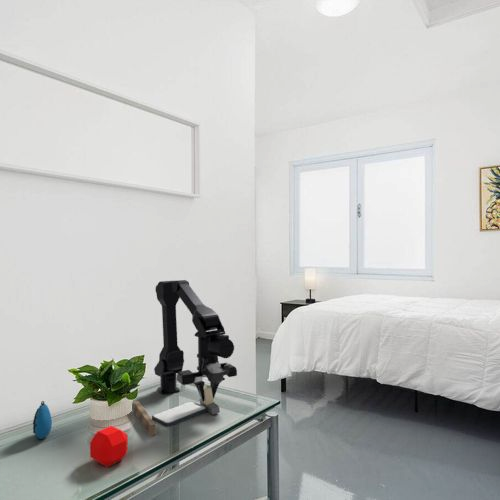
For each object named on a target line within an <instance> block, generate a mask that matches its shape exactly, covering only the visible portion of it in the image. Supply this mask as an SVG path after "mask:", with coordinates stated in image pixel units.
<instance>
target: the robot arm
mask: <svg viewBox="0 0 500 500" xmlns="http://www.w3.org/2000/svg"><path fill="white" fill-rule="evenodd" d="M155 293H156V299H157V301H158V303H160V305H161V316H162V317H161V318H162V336H163V337H162V338H163V339H162V343H163V347H162V348H161V351H160V353H159V354H158V355H159V356H158V357H159V358H158V359H159V360H158V362H157V364H156V365H155V366H154V369H153V370H154V375H156V376H157V377H160V379H159V380H160V386H159V387H157V391H158V392H160V393H161V395H167V394H172V393H177V392H180V391H181V390H180V389H179V388H178V387H177V382H179V383H180V384H181V385H185V386H187V385H192V384H193V385H195V387H196V390H197V392H198V394H199V397H200V399H201V400H202V401H204V387H205V384H206V383H205V381H203V378H206V379H207V381H208V382H209V386H210V387H211V389H212V395H213V400H214V399H215V396H216V393H217V390H218V388H219V385H220V384H221V383H222V382H223V381H225V380H226V378H225V377H224V376H227V377H228V378H232V377H237V376H238V369H237V367H235V366H234V365H232V364H231V363H228V362H221V363H220V361H219V358H222V359H229V358H231V357H232V355H233V353H234V350H235V345H234V342H233V341H232V340H231V339H230V335H229V334H228V335H227V334H226V331H225V326H224V325H223V323H222V321H221V319H220V316H219V314H218V313H217V312H216V311H215V310H214V309H213V308H210V307H209V306H206V305H205V304H204V303H203V302H202V300H201V299H200V297H199V296H198V295H197V294H196V292H195V291H194V290H193V288H192V287H191V286H190V283H189V281H188V280H185V279H183V280H181V279H180V280H163V281H159V282H157V284H156V285H155ZM179 300H181V302H182V303H183V304H184V305H185V307H186V308H187V310H188V311H189V313H190V314H191V316H192V317H191V318H192V319H191V322H192V324H193V325H194V327H195V329H196V330H197V331H196V332H195V333H194V336H195V337H196V338H197V353H196V357H197V359H198V361H197V362H198V365H197V366H196V370H197V371H195V372H193V371H191V370H190V369H186V370H183V368H184V364H185V358H184V354H185V352H184V351H183V350H181V348H180V347H179V346H178V325H177V304H178V302H179Z"/></svg>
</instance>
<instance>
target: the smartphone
mask: <svg viewBox="0 0 500 500" xmlns="http://www.w3.org/2000/svg"><path fill="white" fill-rule="evenodd" d="M205 413H207V407H205V406H202V405H200V403H197V402H196V401H195V402H194V401H187V402H185V403H183V404H180V405H176V406H174V407H172V408H169V409H166V410H163V411H160V412H158V413H154V414H153V415H151V419H152V420H153V422H154V423H157V424H160V425H161V426H163V427H171V426H175V425H177V424H180V423H182V422H185V421H187V420H190V419H192V418H195V417H198V416H200V415H203V414H205Z"/></svg>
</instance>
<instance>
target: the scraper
mask: <svg viewBox="0 0 500 500" xmlns="http://www.w3.org/2000/svg"><path fill="white" fill-rule="evenodd" d="M214 401H215V400H214V399H213V395H212V389H211V387H210V385H206V386H205V385H204V401H202V400H201V398H199V404H200V405H202V406H205V407H207V411H208V413H210V415H212V416H215V415H216V414H219V413H220V412H221V411H220V405H218V404H217V403H216V402H214Z"/></svg>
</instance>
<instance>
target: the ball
mask: <svg viewBox="0 0 500 500" xmlns="http://www.w3.org/2000/svg"><path fill="white" fill-rule="evenodd" d="M128 436H129V435H128V434H126V432H125V431H122V430H121V429H119V428H117V427H116V426H113V425H110V426H108V427H105V428H103V429H100V430H98V431H96V433H95V434H94V435H93V437H92V438H91V440H90V443H89V446H90V447H89V451H90V453H89V454H90V456H89V457H90V458H91V459H93V460H94V461H96V462H97V463H99V464H100V465H103V466H105V467H106V466H107V468H108V467H110V466H112V465H114V463H115V464H116V463H119V462H121V461H122V460H123V459H124V458H125V456H126V455H127V453H128V450H129V447H128V444H129V441H128V440H129V439H128V438H129V437H128Z"/></svg>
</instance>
